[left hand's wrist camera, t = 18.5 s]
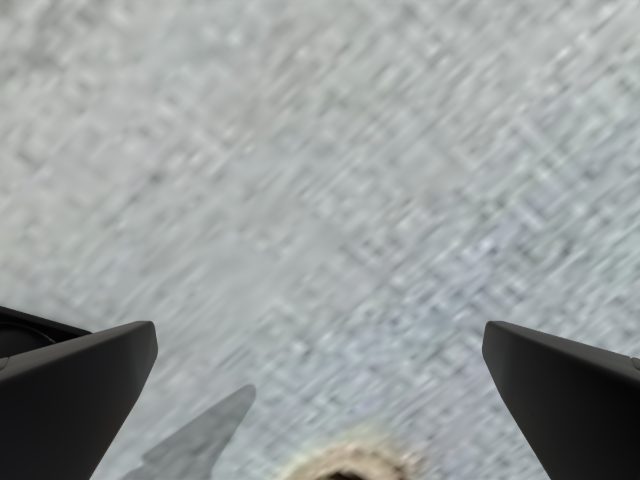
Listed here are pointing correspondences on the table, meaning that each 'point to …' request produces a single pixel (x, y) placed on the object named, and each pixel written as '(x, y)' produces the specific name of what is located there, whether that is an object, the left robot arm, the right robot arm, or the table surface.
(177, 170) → the table surface
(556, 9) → the table surface
